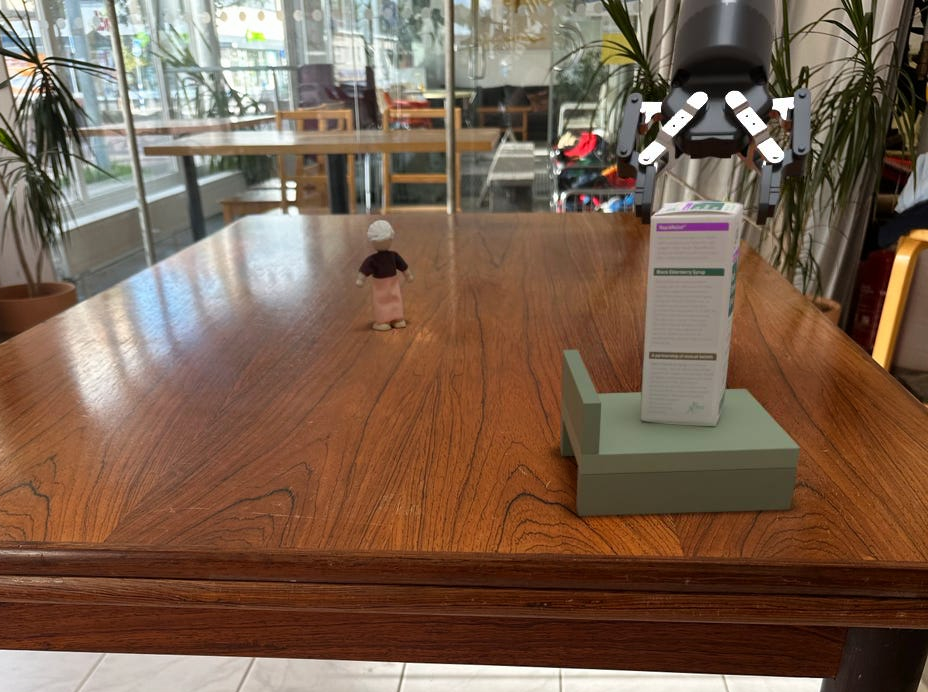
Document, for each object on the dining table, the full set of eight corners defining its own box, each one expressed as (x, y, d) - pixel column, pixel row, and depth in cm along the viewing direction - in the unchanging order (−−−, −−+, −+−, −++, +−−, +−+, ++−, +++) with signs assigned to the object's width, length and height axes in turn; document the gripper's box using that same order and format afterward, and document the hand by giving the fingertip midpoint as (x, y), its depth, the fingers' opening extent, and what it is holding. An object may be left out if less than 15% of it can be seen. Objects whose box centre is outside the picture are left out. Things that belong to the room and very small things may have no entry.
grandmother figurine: (401, 320, 124) (395, 215, 118) (419, 324, 121) (413, 217, 115) (353, 330, 120) (344, 222, 113) (371, 335, 117) (362, 225, 111)
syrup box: (717, 428, 68) (742, 210, 61) (636, 422, 70) (650, 210, 63) (724, 404, 73) (748, 199, 65) (647, 399, 75) (662, 199, 67)
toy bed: (738, 447, 79) (751, 343, 75) (789, 514, 67) (809, 395, 63) (559, 453, 79) (562, 349, 75) (578, 521, 67) (583, 403, 63)
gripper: (632, 4, 73) (606, 184, 69) (827, -7, 69) (810, 182, 66) (633, 82, 80) (610, 249, 76) (810, 76, 77) (795, 250, 73)
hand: (703, 218), depth 71 cm, fingers open, 8 cm apart
